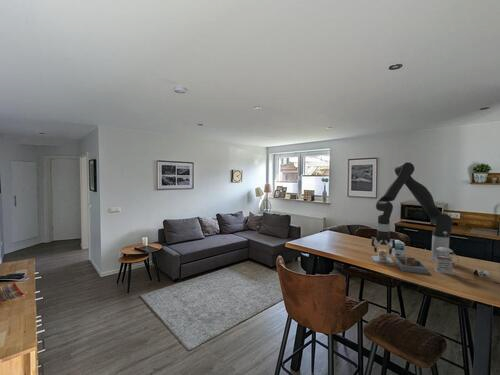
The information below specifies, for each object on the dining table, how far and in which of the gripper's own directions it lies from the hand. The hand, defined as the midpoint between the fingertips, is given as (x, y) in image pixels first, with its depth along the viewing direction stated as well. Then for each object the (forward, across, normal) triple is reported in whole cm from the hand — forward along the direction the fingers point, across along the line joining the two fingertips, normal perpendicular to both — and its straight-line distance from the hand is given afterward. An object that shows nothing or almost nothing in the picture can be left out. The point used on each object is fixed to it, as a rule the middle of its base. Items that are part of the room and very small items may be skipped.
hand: (382, 253), depth 165 cm
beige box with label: (+4, 0, 0) cm, 4 cm away
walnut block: (+4, -14, +7) cm, 17 cm away
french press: (+5, -32, +10) cm, 34 cm away
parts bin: (+5, -14, +11) cm, 19 cm away
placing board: (+5, 0, 0) cm, 5 cm away
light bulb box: (+5, -11, -15) cm, 20 cm away
